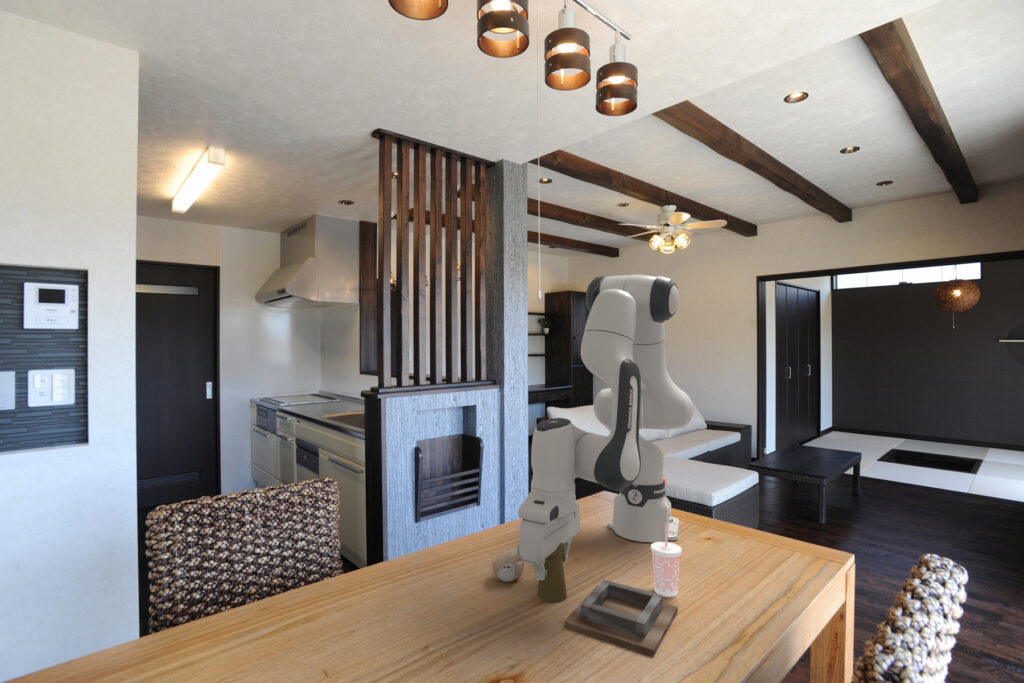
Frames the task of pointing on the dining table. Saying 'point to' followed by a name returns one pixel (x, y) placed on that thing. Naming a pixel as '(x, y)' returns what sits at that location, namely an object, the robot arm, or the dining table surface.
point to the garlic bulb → (508, 565)
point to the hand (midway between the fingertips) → (552, 569)
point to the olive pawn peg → (553, 578)
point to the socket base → (624, 616)
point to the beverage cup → (666, 566)
